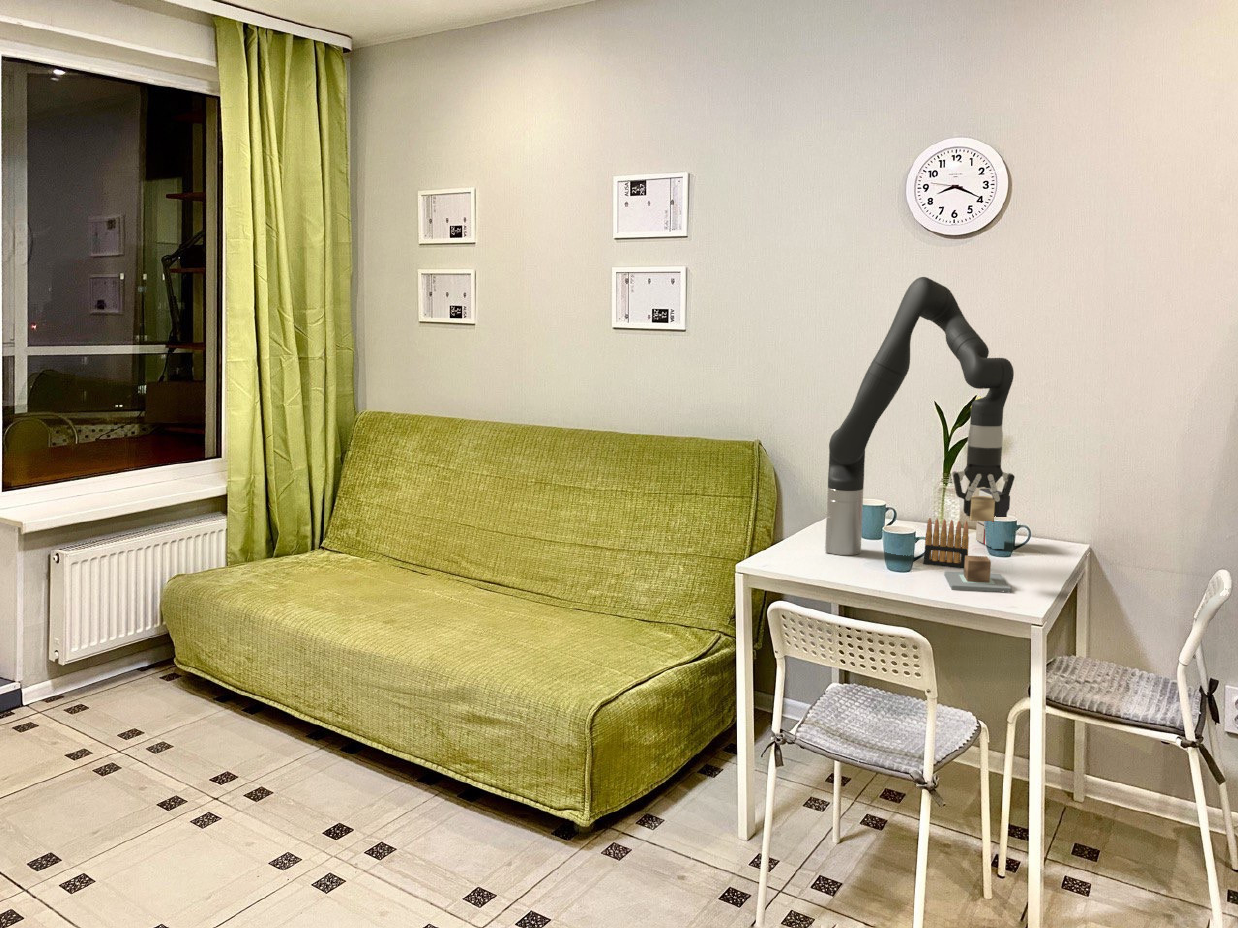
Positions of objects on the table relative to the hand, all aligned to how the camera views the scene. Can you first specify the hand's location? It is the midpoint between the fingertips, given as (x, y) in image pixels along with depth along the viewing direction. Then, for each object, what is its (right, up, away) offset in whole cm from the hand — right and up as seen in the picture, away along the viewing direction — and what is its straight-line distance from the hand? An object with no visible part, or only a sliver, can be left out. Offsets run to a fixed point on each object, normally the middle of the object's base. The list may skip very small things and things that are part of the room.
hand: (980, 515), depth 237 cm
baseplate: (0, -16, +2) cm, 16 cm away
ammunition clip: (-2, -14, +19) cm, 24 cm away
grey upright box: (+17, -10, +41) cm, 45 cm away
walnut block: (0, -15, +2) cm, 15 cm away
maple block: (0, -1, 0) cm, 1 cm away
